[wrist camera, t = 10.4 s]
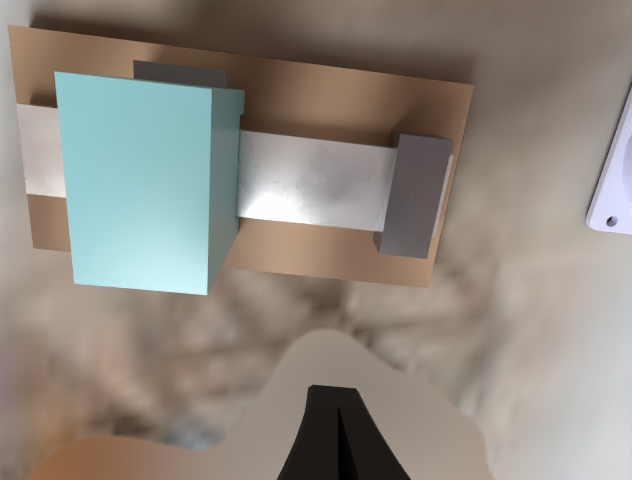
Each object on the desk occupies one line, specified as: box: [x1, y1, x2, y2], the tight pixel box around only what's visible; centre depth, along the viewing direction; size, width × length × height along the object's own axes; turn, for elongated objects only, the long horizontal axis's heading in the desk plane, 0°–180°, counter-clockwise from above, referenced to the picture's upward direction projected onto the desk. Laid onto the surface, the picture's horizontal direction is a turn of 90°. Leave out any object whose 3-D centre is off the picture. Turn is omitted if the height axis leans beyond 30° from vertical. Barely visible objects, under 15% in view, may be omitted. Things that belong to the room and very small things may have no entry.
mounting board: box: [8, 25, 475, 288], centre depth 18 cm, size 18×9×1 cm, turn 83°
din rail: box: [16, 103, 453, 259], centre depth 17 cm, size 17×5×2 cm, turn 83°
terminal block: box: [54, 60, 245, 295], centre depth 14 cm, size 4×7×6 cm, turn 174°
